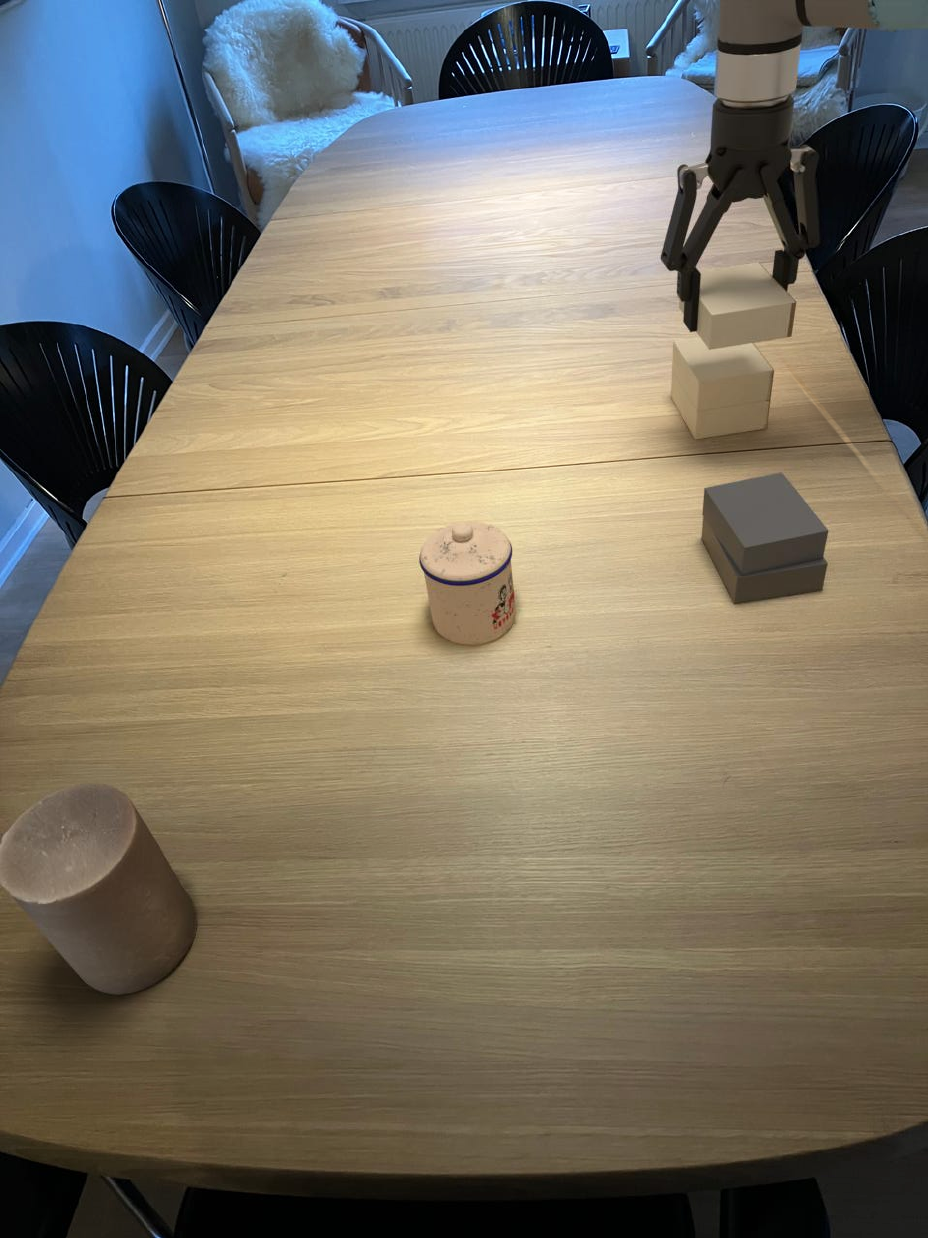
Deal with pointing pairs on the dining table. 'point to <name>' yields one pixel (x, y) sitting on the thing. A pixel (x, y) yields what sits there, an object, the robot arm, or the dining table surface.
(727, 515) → the grey books
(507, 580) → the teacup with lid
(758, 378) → the cream books
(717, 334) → the cream book
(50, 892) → the pillar candle
